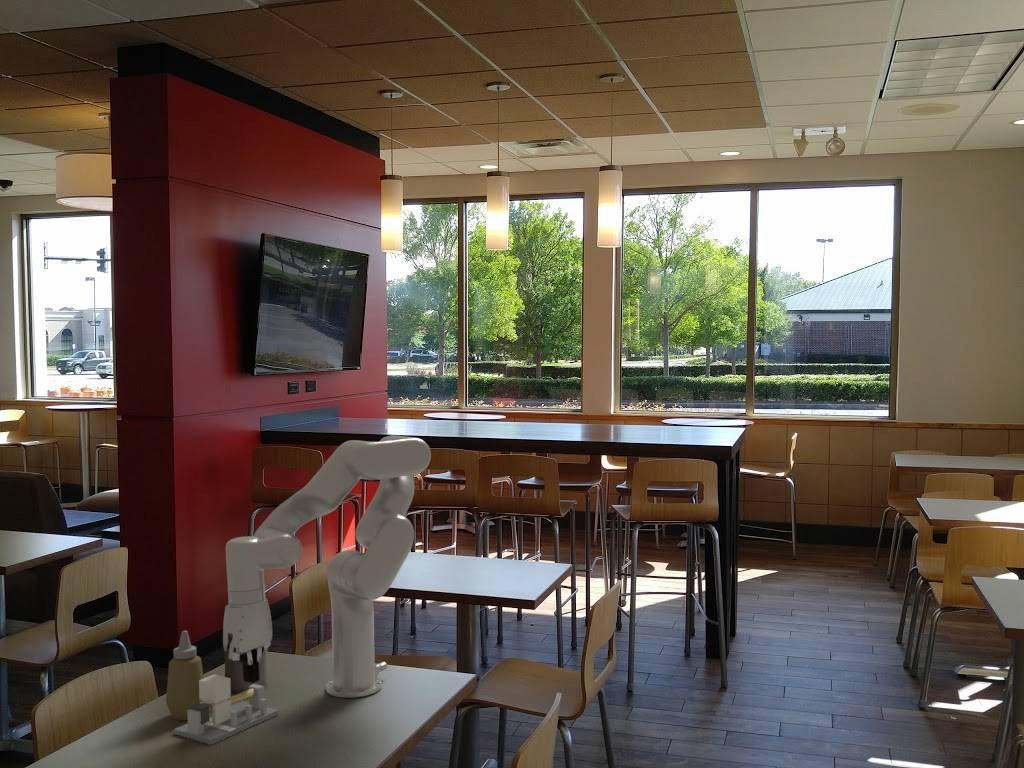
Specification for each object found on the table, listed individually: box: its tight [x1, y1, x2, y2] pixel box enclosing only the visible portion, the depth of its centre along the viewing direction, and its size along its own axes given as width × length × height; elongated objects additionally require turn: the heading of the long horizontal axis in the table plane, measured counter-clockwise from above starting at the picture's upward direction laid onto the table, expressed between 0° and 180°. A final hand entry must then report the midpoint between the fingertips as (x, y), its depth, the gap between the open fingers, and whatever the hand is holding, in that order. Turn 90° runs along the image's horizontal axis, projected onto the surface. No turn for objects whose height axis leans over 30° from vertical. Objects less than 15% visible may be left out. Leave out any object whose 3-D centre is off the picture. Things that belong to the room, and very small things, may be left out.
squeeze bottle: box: [165, 630, 205, 721], centre depth 197 cm, size 8×8×18 cm
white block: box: [199, 674, 232, 725], centre depth 190 cm, size 4×5×8 cm
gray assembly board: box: [173, 684, 280, 746], centre depth 192 cm, size 18×11×6 cm, turn 148°
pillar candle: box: [224, 648, 269, 694], centre depth 215 cm, size 10×10×15 cm
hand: (251, 680), depth 197 cm, fingers closed
